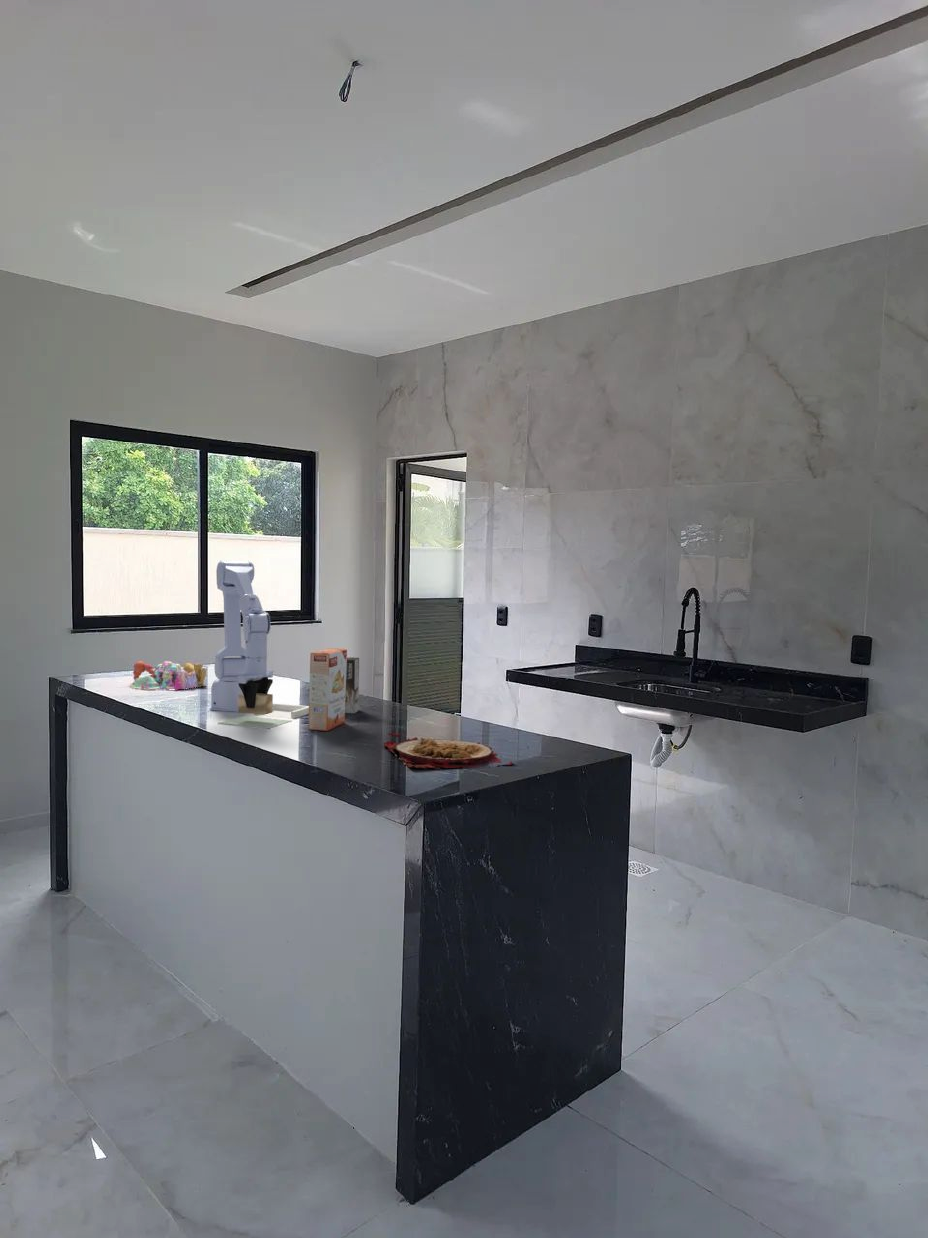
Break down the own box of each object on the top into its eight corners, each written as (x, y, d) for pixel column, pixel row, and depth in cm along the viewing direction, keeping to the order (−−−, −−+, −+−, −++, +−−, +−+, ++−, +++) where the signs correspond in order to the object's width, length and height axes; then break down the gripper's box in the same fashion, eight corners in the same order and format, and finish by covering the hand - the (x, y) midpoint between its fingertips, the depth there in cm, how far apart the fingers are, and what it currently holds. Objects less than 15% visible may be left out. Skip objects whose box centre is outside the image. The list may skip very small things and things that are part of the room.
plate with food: (411, 775, 191) (412, 759, 191) (381, 746, 216) (382, 732, 216) (515, 771, 199) (516, 755, 199) (475, 743, 224) (476, 730, 224)
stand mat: (217, 724, 238) (217, 722, 238) (242, 716, 249) (242, 715, 249) (269, 729, 233) (269, 728, 233) (292, 721, 244) (292, 720, 244)
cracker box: (328, 732, 231) (330, 653, 230) (307, 730, 232) (308, 652, 231) (346, 722, 245) (347, 648, 244) (326, 721, 246) (327, 647, 245)
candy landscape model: (190, 680, 321) (190, 655, 320) (218, 688, 303) (218, 662, 302) (120, 685, 304) (120, 658, 304) (145, 694, 286) (145, 666, 286)
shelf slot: (253, 715, 252) (253, 708, 252) (272, 709, 262) (272, 703, 262) (293, 719, 248) (293, 712, 248) (312, 713, 258) (312, 706, 258)
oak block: (263, 715, 238) (263, 696, 237) (238, 712, 240) (238, 694, 240) (272, 712, 242) (272, 694, 242) (247, 710, 244) (247, 692, 244)
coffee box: (359, 710, 265) (360, 657, 264) (354, 714, 259) (355, 659, 258) (329, 709, 266) (330, 656, 265) (324, 712, 260) (325, 658, 259)
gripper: (254, 660, 232) (253, 711, 233) (282, 655, 246) (281, 703, 246) (231, 659, 234) (230, 709, 235) (260, 654, 248) (259, 701, 249)
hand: (255, 706), depth 241 cm, fingers closed on oak block, 4 cm apart
